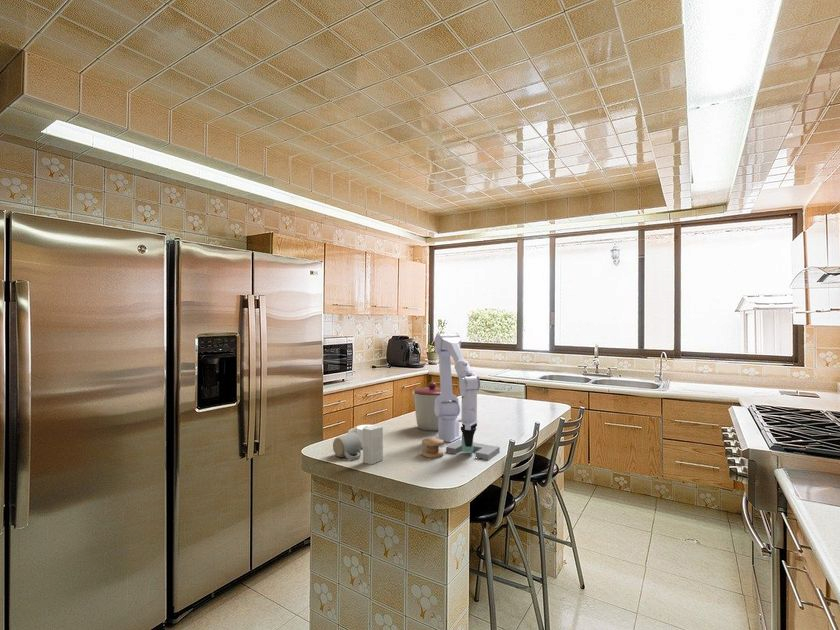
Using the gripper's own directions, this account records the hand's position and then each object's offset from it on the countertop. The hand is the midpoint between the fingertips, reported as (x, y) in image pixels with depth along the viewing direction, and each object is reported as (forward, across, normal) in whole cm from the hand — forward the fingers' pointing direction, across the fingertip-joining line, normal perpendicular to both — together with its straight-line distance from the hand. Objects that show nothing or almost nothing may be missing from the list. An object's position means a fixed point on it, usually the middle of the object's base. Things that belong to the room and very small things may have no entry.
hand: (468, 444), depth 161 cm
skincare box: (+4, +15, -33) cm, 36 cm away
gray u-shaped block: (+3, -2, +2) cm, 4 cm away
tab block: (+2, 0, 0) cm, 2 cm away
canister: (+4, -34, -19) cm, 39 cm away
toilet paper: (+4, -3, -43) cm, 43 cm away
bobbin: (+3, +4, -13) cm, 14 cm away
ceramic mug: (+4, +11, -43) cm, 44 cm away
